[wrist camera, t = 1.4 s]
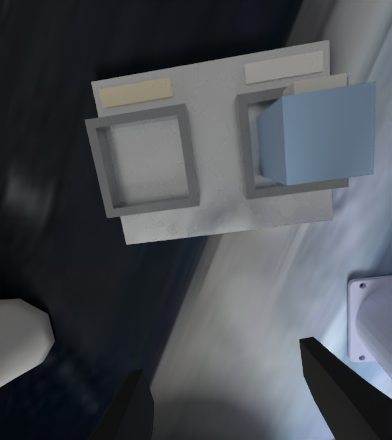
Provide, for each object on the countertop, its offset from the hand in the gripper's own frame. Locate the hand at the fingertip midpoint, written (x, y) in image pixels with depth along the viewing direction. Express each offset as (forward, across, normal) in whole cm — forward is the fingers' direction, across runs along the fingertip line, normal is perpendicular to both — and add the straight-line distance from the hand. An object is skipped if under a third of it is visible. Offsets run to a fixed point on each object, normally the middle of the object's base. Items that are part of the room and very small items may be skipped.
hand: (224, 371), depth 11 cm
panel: (+11, -2, -9) cm, 14 cm away
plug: (+9, -7, -9) cm, 15 cm away
